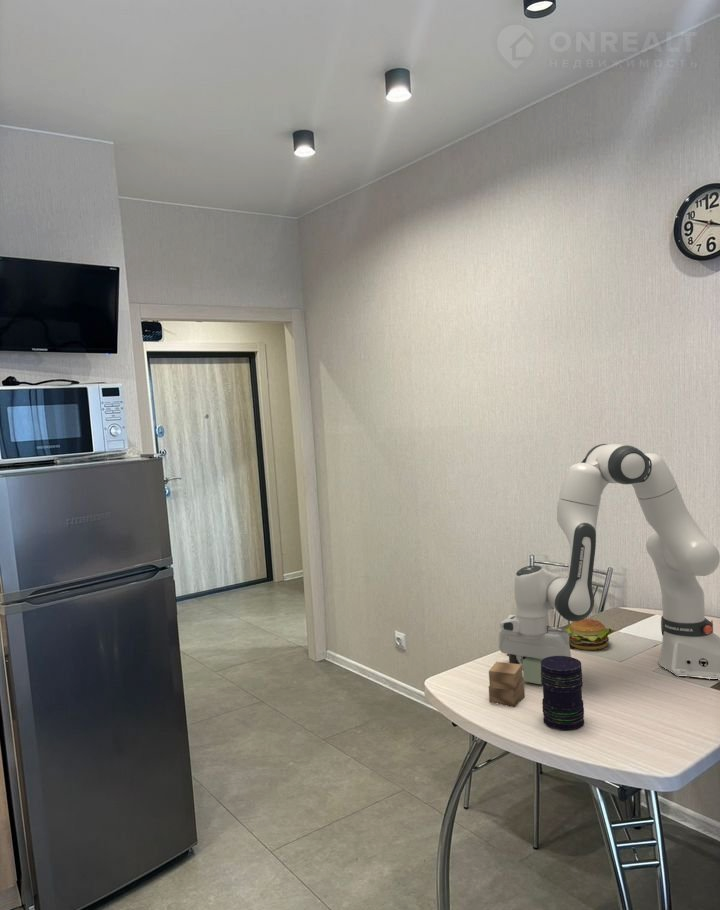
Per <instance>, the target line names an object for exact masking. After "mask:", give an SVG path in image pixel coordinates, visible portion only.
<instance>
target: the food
mask: <svg viewBox="0 0 720 910" xmlns="http://www.w3.org/2000/svg"><path fill="white" fill-rule="evenodd" d="M567 627H568V628H565V629H564V630H566V631H567V632H568V633H569V645H570V646H571V647H573V648H576V649H579V650H584V651H597V649H598V650H602V649H604V648H606V647H608V642H609V640H610V638H609V636H608V635H610V634H611V633H612V629H611V628H606V625H604V624H603V623H602V622H601V621H599V620H597V619H593V618H585V619H583V620H580V621H572V622H571V624H570V625H569V626H567Z"/></svg>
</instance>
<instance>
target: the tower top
mask: <svg viewBox="0 0 720 910" xmlns="http://www.w3.org/2000/svg"><path fill="white" fill-rule="evenodd" d="M488 680H489V683H488V684H489V686H490V688H498V689H506V690H514V691H516V690H517V688H518V687H519V685H520V684H521V682H522V681H523V682H524V677H523V671H522V664H513V663H509V662H504V661H503V662H502V661H495V663H494V664H493V665H492V666H491V667H490V669H488Z"/></svg>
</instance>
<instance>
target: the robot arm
mask: <svg viewBox="0 0 720 910" xmlns="http://www.w3.org/2000/svg"><path fill="white" fill-rule="evenodd" d="M608 484H620V485H631V486H632V488H633V490H634V493H635V495H636V498H637V501H638V503H639V505H640V508H641V510H642V513H643V515H644V518H645V520H646V521H647V523H648V525H649V526H651V528H652V529H654V531H653V532H651V533H650V534H649V536H648V537H647V539H646V543H645V547H646V551H647V553H648V555H649V557H650V558H651V560H652V562H653V564H654V567H655V573H656V575H657V578H658V581H659V587H660V590H661V605H662V616H661V619H660V631H661V635H662V642H661V649H660V656H659V659H658V662H659V663H658V665H659V664H660V665H661V666H662V667H664V668H666V669H668V670H670V671H672V672H673V673H674V674H676V675H687V676H702V677H711V678H717V679H720V636H719V635H717V634H716V633H715V632H714V621H713V620H711V621H710V620H709V619H707V618H706V617H705V616H706V615H705V614H706V613H705V594H704V590H703V588H702V586H701V585H700V584H699V582H698V579H697V577H706V576H710V575H711V574H713V573H714V572H715V571H716V570H717V568H718V567H719V564H720V552H719V550H718V548H717V546H715V545H714V544H713V543H712V542H711V541H710V539H708V538H707V536H706V535H705V534H704V533H703V531H702V529H701V528H700V527H699V525H698V524H697V523H696V521H695V519H694V518H693V516H692V515H691V513H690V512H689V509H688V508H687V506H686V503H685V502H684V499H683V497H682V495H681V492H680V489H679V487H678V485H677V482H676V480H675V477H674V476H673V474H672V472H671V470H670V468H669V466H668V465H667V463H666V461H665V460H664V459H663V457H662V456H661V455H659V454H658V453H653V452H646V453H644V452H643V451H642V450H640V449H639V448H637V447H635V446H632V445H626V444H622V443H602V444H599V445H595V446H593V447H592V448H591V449H590V450H589V451H588V452H587V453H586V455H585V457H584V458H583V459H582V461H581V462H578V463H574V464H572V465H570V466H569V468H568V469H567V471H566V474H565V475H564V478H563V481H562V485H561V488H560V493H559V496H558V501H557V507H556V521H557V523H558V526H559V527H560V529H561V530H562V531H563V533H564V535H565V537H566V539H567V540H568V545H569V549H570V550H569V551H570V553H569V561H568V569H567V575H564V574H560V573H554V572H552V571H549V570H547V569H545V568H544V567H542V566H540V565H527V566H523V567H521V568H520V569H518V570H517V572H516V573H515V577H514V600H515V603H516V610H515V614H514V615H515V616H511V617H508V616H507V617H508V618H507V617H506V618H505V619H504V620H502V621H501V622H500V623H499V627H500V629H501V630H500V631H499V634H498V650H499V651H500V652H501V653H502V654H507V655H508V654H513V655H516V658H517V660H518V662H519V663H520V664H522V672H523V660H524V659H523V657H524V656H525V657H531V658H538V659H544V658H546V657H550V656H568V657H572V652H571V647H570V646H571V645H570V643H569V633H568V632H567V631H566V630H565V629H564V628H562V627H556V626H550V624H549V611H550V610H555V611H556V612H557V613H558V614H559V615H560V616H561V617H562V618H563V619H564V620H566V621H568V622H574V621H580V620H583V619H587V617H589V615H591V613H592V612H593V610H594V606H595V597H594V591H593V576H594V575H593V574H594V566H595V555H596V547H597V522H598V516H599V510H600V506H601V505H600V504H601V500H602V494H603V492H604V490H605V488H606V487H607V485H608ZM660 665H659V666H660ZM661 666H660V667H661ZM662 667H661V668H662ZM664 668H663V669H664ZM666 669H665V670H666ZM668 670H667V671H668ZM670 671H669V672H670Z"/></svg>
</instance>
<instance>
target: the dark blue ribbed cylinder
mask: <svg viewBox="0 0 720 910" xmlns="http://www.w3.org/2000/svg"><path fill="white" fill-rule="evenodd" d="M541 683H542V684H541V686H542V695H543V697H542V699H541V701H542V703H541V704H542V707H541V708H542V714H543V724H544V725H545V726H546V727H548V728H550V729H552V730H556V731H560V732H561V731H562V732H572V731H577V730H580V729H581V728H583V727H584V726H585V720H584V717H585V708H584V705H585V704H584V699H583V695H582V694H583V693H582V692H583V691H582V687H583V683H584V681H583V669H582V661H581V660H579V659H577V658H575V657H572V656H571V657H568V656H550V657H546V658H544V659H542V660H541Z"/></svg>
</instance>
